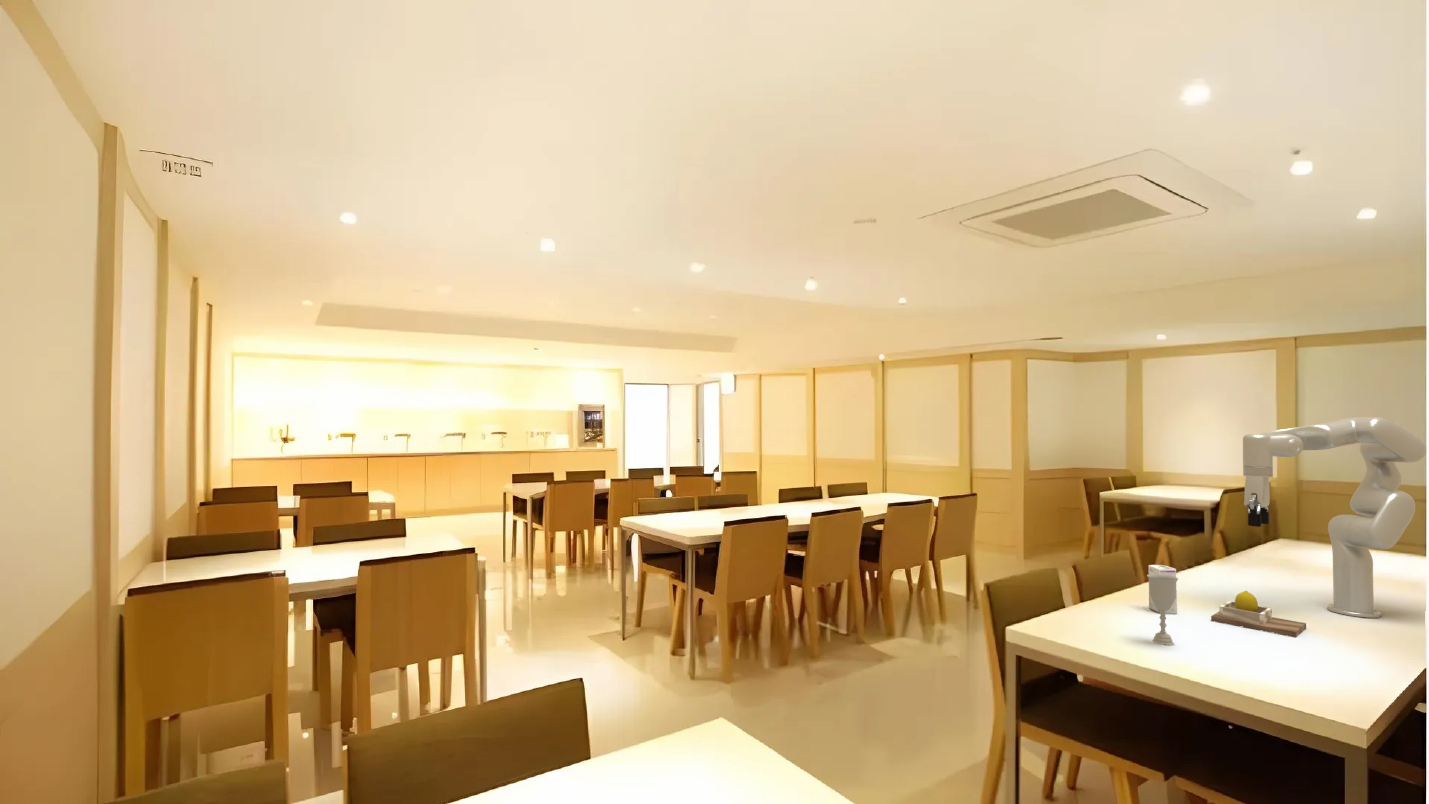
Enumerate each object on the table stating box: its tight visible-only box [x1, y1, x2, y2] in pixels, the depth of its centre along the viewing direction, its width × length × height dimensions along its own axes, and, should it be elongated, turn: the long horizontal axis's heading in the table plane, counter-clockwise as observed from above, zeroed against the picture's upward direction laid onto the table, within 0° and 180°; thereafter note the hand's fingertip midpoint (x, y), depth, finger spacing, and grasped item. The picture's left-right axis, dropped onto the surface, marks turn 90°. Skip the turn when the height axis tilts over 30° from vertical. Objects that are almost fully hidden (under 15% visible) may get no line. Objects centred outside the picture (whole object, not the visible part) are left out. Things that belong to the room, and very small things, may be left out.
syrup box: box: [1148, 564, 1178, 615], centre depth 217 cm, size 6×6×14 cm
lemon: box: [1234, 590, 1259, 612], centre depth 206 cm, size 6×6×8 cm
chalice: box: [1146, 573, 1179, 646], centre depth 186 cm, size 7×7×18 cm
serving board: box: [1210, 600, 1307, 638], centre depth 204 cm, size 14×20×4 cm
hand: (1258, 524), depth 218 cm, fingers open, 9 cm apart
